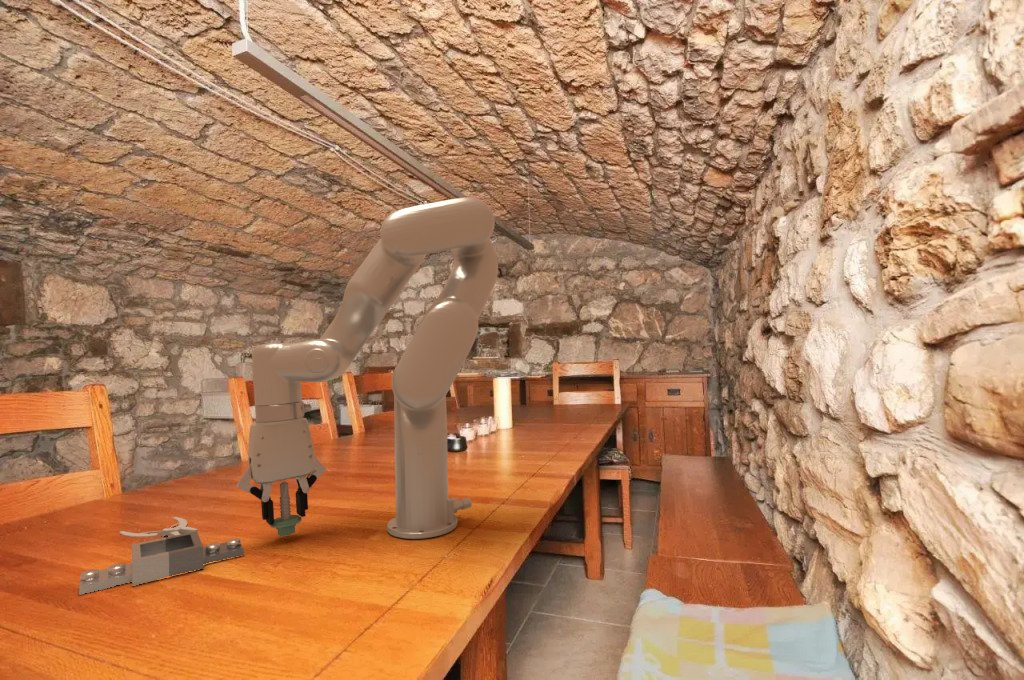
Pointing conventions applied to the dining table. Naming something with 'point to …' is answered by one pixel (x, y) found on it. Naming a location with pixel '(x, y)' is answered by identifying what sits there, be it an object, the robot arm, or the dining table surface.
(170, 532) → the pliers
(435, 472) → the robot arm
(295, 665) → the dining table surface
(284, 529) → the screw
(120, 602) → the dining table surface
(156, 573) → the riveted metal bracket
